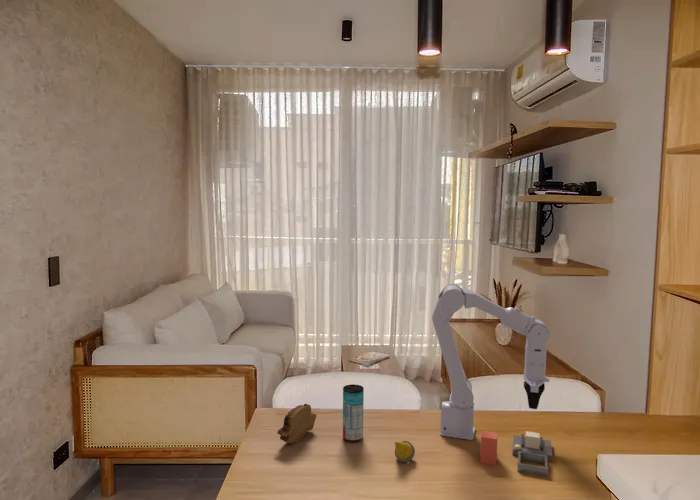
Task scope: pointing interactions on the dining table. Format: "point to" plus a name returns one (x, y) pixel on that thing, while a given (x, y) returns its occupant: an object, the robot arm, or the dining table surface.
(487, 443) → the peg
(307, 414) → the wooden carving
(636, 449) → the dining table surface
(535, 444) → the switch
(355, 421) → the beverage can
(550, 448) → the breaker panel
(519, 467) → the frame
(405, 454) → the yellow flanged cylinder
